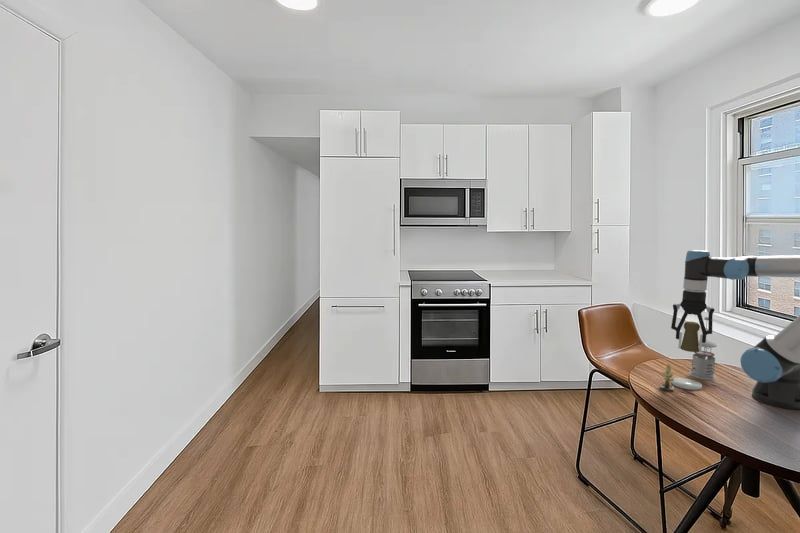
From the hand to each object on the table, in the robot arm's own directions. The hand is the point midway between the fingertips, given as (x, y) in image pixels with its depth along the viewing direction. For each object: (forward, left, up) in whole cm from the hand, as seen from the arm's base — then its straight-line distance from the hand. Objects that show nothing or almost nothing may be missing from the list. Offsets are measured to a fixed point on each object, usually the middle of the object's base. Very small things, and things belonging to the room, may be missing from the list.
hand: (689, 348), depth 175 cm
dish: (0, 0, -15) cm, 15 cm away
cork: (0, 0, 0) cm, 0 cm away
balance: (+6, +9, -15) cm, 18 cm away
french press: (-5, -18, -15) cm, 24 cm away
